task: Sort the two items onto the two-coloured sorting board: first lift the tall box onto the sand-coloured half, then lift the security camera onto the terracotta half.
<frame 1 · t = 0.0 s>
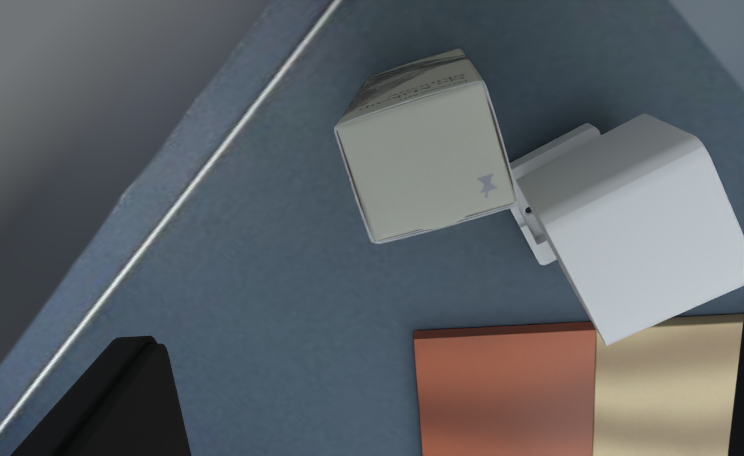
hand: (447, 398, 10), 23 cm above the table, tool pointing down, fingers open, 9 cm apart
box: (422, 104, 32), on the table
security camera: (574, 184, 33), on the table
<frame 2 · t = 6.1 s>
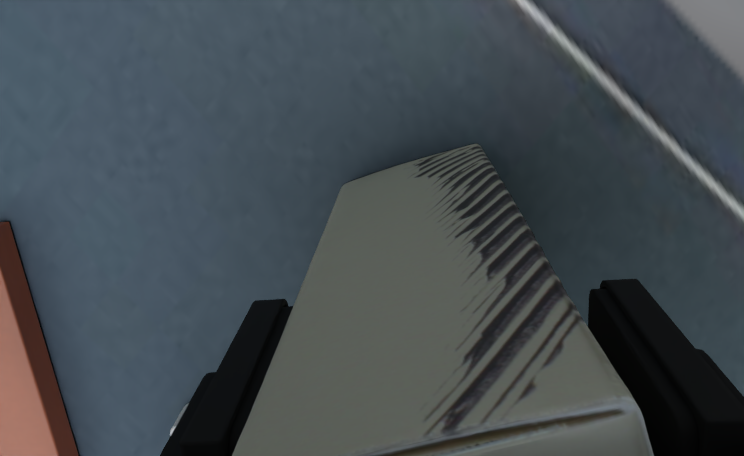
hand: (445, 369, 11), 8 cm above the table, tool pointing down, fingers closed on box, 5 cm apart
box: (427, 233, 19), on the table, touching gripper
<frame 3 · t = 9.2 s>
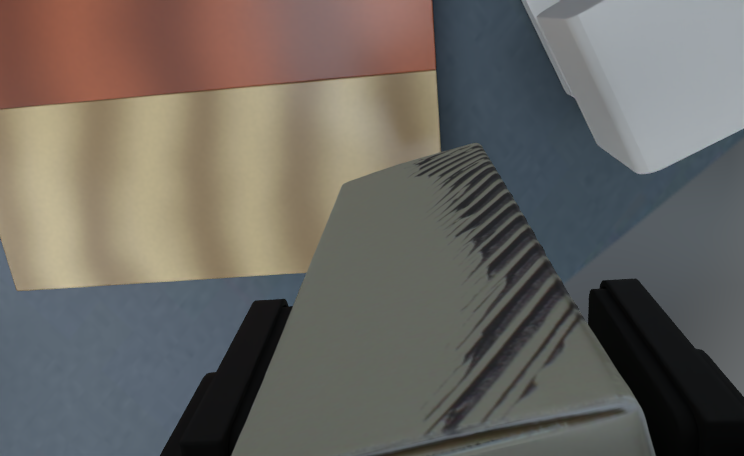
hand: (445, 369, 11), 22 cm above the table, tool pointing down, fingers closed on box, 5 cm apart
box: (428, 232, 19), point 14 cm above the table, touching gripper
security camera: (602, 30, 30), on the table
sorting board: (197, 89, 31), on the table
when the fingers open (9 cm above the table, at t = 12.7 s): box stays where it is, resting on sorting board.
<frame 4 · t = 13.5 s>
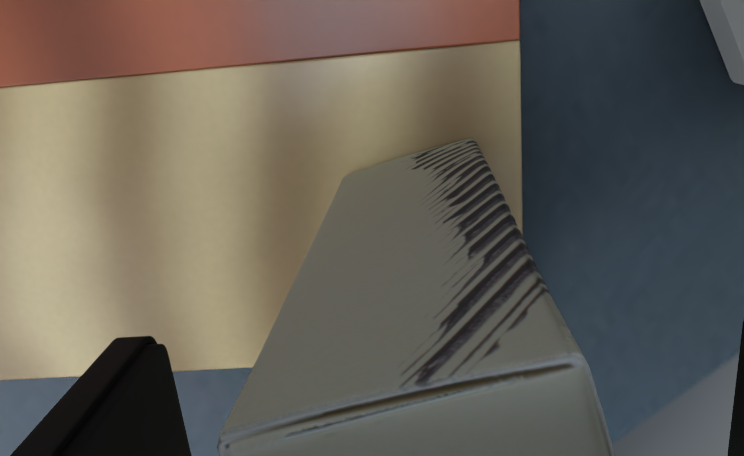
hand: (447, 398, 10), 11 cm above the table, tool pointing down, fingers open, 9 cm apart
box: (425, 224, 19), point 1 cm above the table, touching sorting board
sorting board: (121, 74, 19), on the table
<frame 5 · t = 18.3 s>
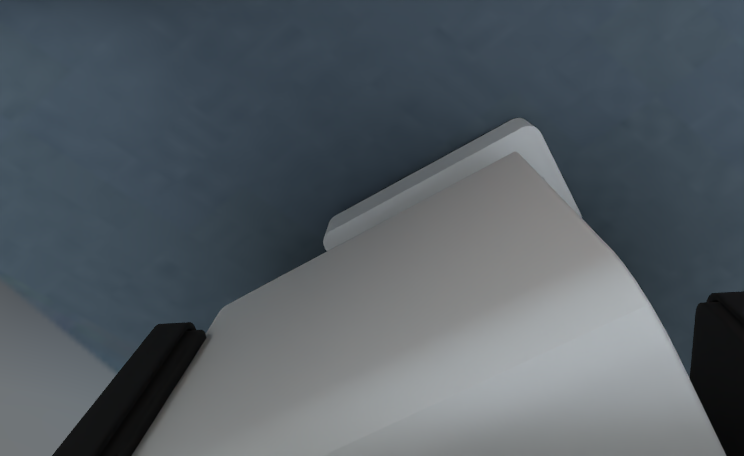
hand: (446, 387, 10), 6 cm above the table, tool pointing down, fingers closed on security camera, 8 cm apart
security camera: (444, 272, 16), on the table, touching gripper
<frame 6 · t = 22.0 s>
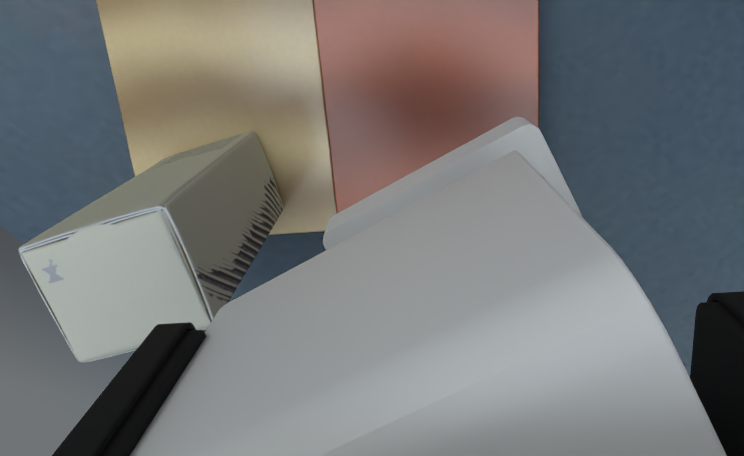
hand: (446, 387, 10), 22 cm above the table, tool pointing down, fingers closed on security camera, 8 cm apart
box: (229, 180, 31), point 1 cm above the table, touching sorting board
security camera: (444, 271, 16), point 16 cm above the table, touching gripper
when the fingers open (7 cm above the table, at t = 25.9 s): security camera stays where it is, resting on sorting board.
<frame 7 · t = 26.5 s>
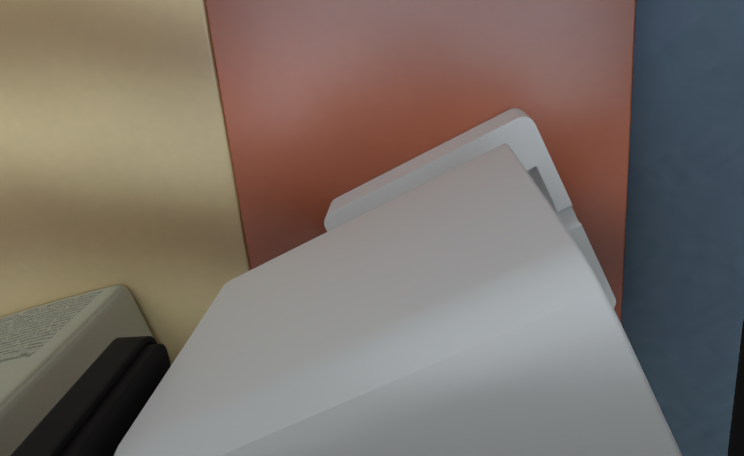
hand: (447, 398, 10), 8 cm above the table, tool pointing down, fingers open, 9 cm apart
box: (91, 357, 19), point 1 cm above the table, touching sorting board
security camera: (440, 254, 17), point 1 cm above the table, touching sorting board
sorting board: (219, 21, 16), on the table
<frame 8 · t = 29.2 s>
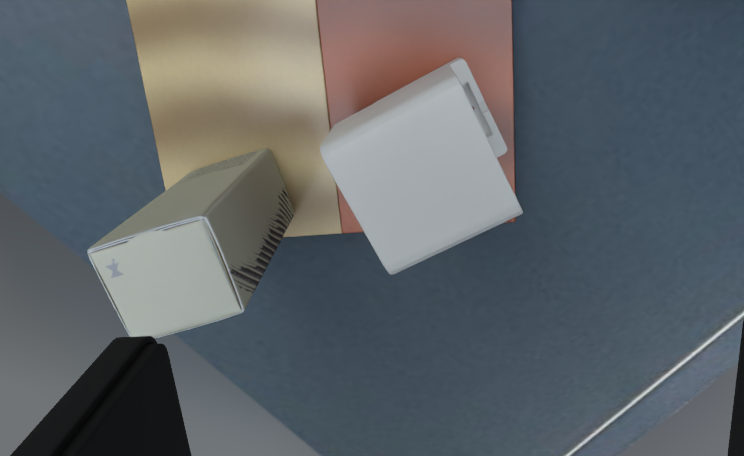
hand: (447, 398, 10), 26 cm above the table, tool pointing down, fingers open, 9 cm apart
box: (246, 190, 36), point 1 cm above the table, touching sorting board
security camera: (425, 131, 34), point 1 cm above the table, touching sorting board
sorting board: (320, 17, 33), on the table
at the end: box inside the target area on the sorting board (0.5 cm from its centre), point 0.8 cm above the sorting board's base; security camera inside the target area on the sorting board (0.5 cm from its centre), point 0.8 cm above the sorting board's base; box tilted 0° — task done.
